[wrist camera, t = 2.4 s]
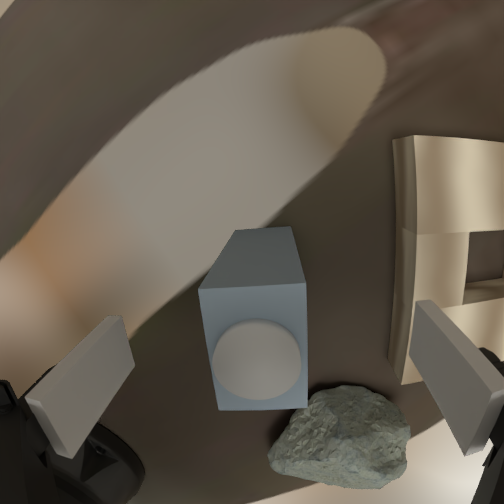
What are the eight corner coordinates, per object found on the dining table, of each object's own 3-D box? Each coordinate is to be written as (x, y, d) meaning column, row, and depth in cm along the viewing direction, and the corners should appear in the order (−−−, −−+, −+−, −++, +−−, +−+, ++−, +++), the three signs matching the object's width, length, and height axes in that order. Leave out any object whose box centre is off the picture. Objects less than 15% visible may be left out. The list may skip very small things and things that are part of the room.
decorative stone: (379, 344, 25) (319, 422, 18) (438, 428, 23) (397, 513, 16) (292, 386, 34) (231, 441, 27) (345, 451, 32) (295, 512, 25)
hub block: (387, 358, 25) (401, 384, 22) (392, 139, 21) (413, 135, 17) (518, 330, 24) (539, 348, 20) (535, 151, 20) (563, 152, 16)
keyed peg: (243, 306, 25) (216, 421, 13) (235, 230, 24) (192, 297, 11) (294, 303, 25) (308, 419, 12) (290, 226, 23) (307, 290, 11)
